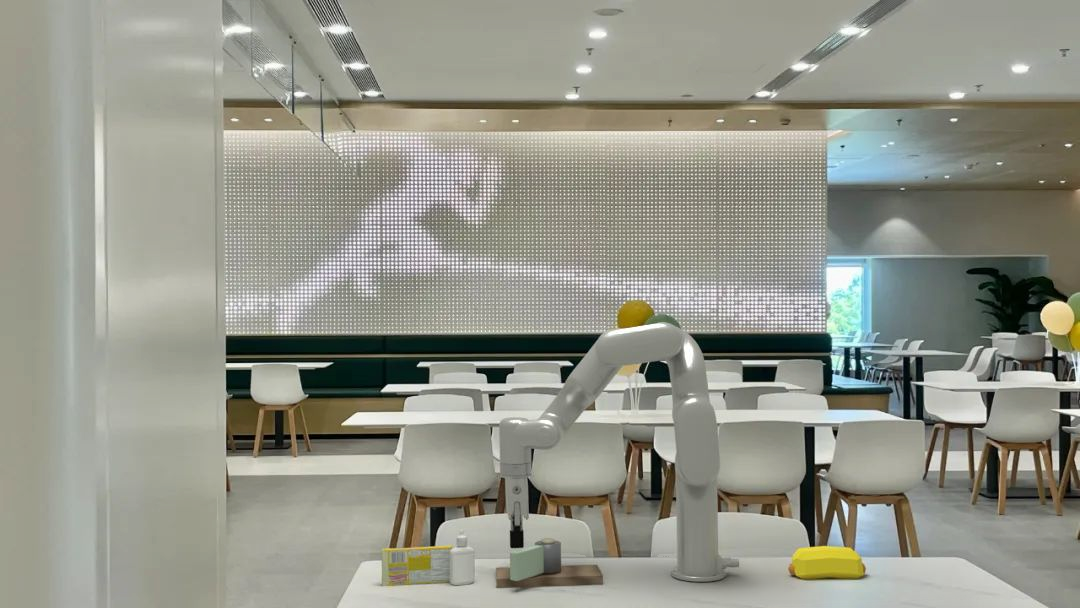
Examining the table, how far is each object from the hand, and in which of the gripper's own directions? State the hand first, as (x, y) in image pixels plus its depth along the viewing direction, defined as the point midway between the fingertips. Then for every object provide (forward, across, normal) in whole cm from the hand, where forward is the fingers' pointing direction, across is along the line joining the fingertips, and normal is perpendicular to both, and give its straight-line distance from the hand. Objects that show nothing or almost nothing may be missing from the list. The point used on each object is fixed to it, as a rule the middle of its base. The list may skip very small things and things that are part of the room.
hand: (516, 547), depth 226 cm
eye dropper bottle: (+6, -7, +13) cm, 16 cm away
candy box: (+6, -6, +23) cm, 25 cm away
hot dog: (+7, -11, -71) cm, 72 cm away
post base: (+6, -7, -7) cm, 12 cm away
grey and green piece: (+4, -10, -4) cm, 11 cm away
